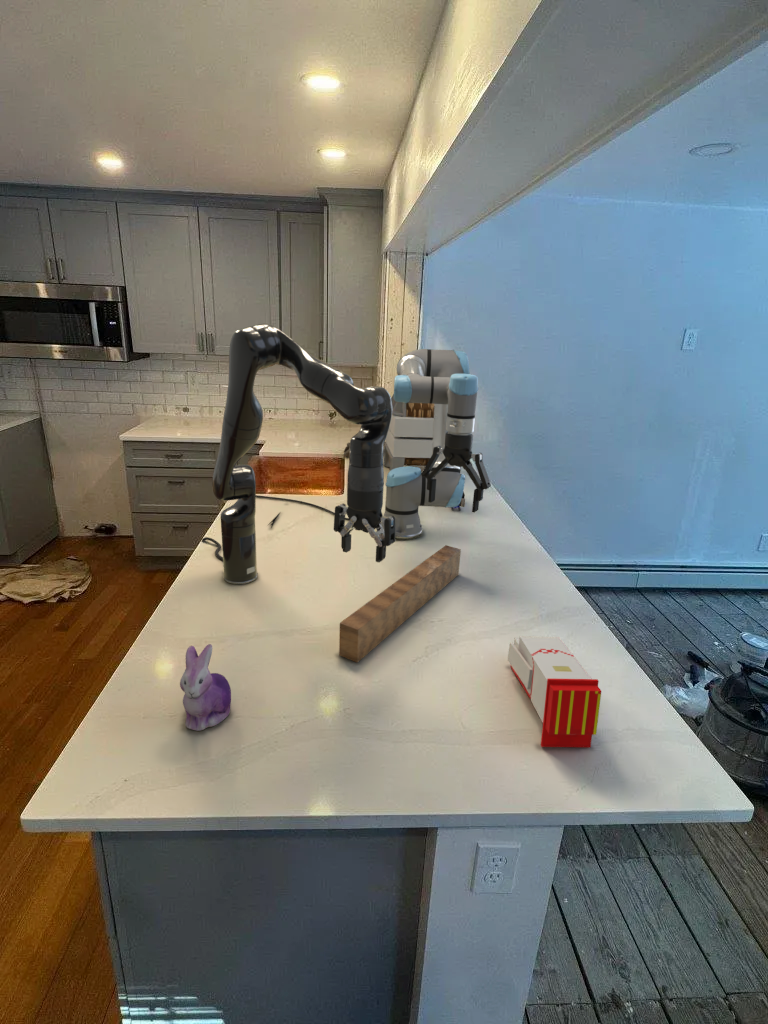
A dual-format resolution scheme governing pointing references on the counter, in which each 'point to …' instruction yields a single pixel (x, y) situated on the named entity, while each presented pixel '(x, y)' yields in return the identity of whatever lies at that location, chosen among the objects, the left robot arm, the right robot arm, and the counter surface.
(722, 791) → the counter surface
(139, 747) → the counter surface
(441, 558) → the post
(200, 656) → the figurine
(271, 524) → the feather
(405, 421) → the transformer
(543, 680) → the toy
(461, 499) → the figurine character
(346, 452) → the fossil
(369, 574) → the counter surface
